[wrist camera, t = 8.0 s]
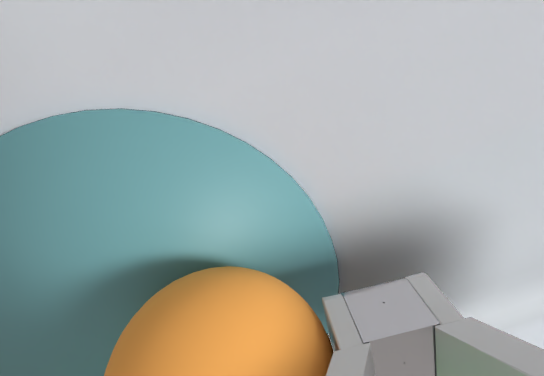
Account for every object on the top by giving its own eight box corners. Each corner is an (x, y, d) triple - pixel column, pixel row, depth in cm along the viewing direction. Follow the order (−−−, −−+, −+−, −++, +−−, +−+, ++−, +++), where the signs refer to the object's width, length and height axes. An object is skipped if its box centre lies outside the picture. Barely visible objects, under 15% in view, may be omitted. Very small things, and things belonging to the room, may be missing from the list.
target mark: (-195, 176, 8) (-207, 180, 8) (300, 55, 8) (301, 55, 8) (54, 458, 13) (51, 464, 12) (357, 381, 13) (359, 386, 13)
